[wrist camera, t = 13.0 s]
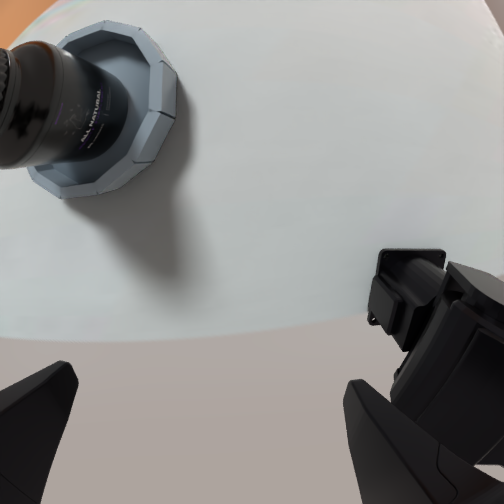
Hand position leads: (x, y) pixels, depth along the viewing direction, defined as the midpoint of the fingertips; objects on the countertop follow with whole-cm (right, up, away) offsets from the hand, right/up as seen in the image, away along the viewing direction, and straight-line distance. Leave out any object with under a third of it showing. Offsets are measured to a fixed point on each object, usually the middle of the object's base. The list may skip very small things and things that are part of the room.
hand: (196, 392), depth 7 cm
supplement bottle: (-10, +14, +9) cm, 19 cm away
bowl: (-10, +15, +9) cm, 20 cm away
